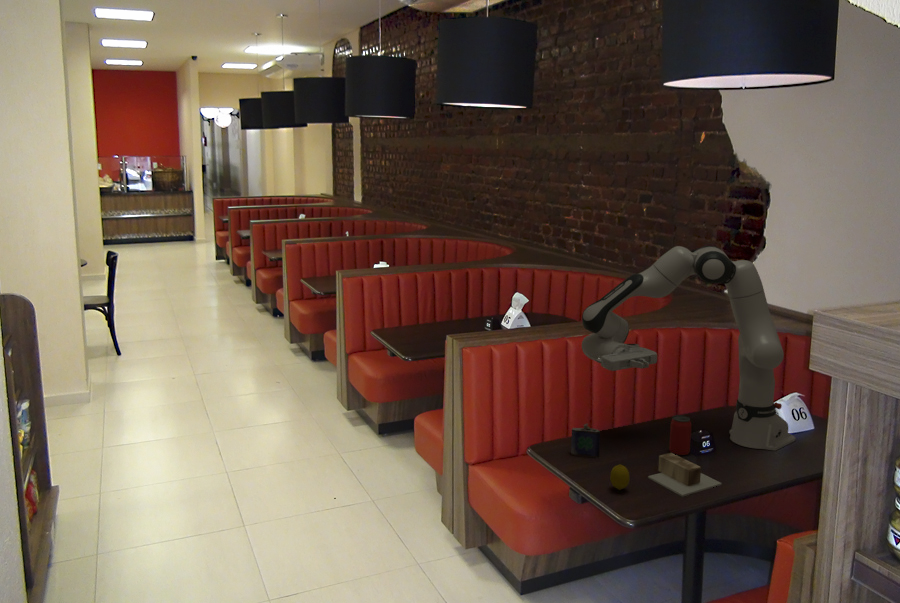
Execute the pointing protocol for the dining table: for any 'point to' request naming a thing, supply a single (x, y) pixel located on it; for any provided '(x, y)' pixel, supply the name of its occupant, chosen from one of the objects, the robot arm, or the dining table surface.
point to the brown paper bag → (679, 469)
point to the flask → (585, 442)
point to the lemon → (619, 477)
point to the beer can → (680, 435)
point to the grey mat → (682, 488)
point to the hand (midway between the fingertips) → (645, 365)
